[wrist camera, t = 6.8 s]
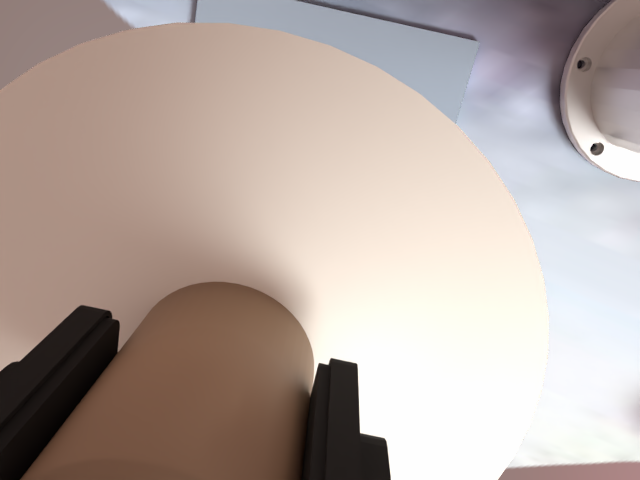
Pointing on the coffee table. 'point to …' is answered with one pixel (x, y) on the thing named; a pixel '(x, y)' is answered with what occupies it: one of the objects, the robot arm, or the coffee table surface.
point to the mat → (365, 43)
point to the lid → (263, 258)
